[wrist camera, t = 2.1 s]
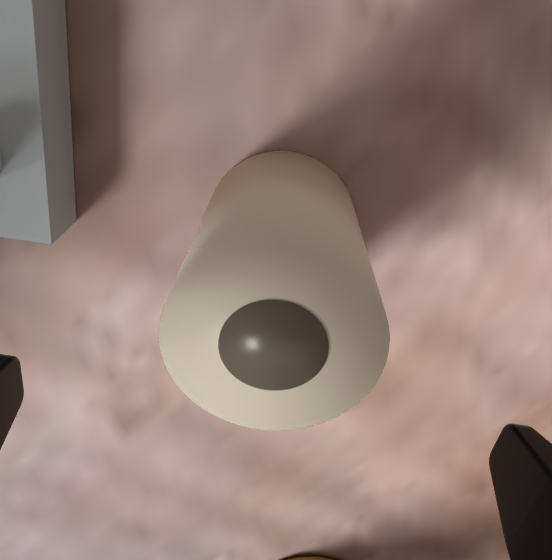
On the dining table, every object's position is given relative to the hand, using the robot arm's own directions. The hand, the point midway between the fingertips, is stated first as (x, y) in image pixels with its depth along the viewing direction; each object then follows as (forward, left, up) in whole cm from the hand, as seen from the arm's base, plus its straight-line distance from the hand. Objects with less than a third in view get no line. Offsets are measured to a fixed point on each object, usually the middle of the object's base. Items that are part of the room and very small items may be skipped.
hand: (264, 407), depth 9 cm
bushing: (0, 0, -9) cm, 9 cm away
